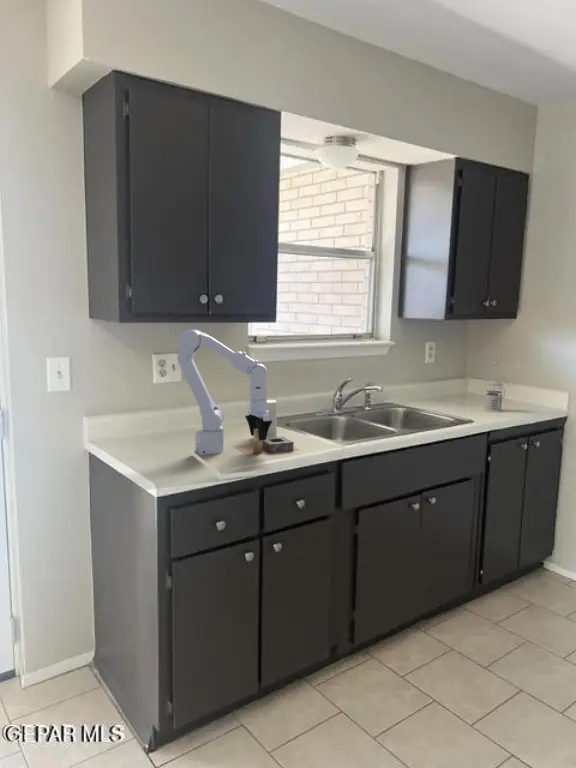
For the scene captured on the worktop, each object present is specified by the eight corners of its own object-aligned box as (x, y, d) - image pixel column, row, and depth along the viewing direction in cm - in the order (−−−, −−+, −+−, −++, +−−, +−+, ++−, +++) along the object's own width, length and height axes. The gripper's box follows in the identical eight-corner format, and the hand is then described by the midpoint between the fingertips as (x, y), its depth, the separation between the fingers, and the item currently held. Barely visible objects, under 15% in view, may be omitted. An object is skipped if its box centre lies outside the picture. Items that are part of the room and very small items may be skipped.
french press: (478, 409, 301) (481, 360, 298) (494, 407, 307) (498, 360, 303) (493, 412, 293) (496, 362, 289) (509, 411, 298) (513, 361, 295)
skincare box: (276, 438, 230) (276, 399, 228) (276, 442, 224) (277, 402, 222) (254, 438, 230) (255, 399, 228) (254, 442, 224) (254, 402, 221)
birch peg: (255, 453, 203) (255, 430, 202) (252, 451, 206) (252, 429, 205) (263, 452, 204) (263, 430, 203) (260, 450, 207) (260, 428, 206)
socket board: (247, 458, 200) (247, 446, 200) (233, 449, 213) (233, 438, 212) (300, 453, 209) (300, 441, 208) (283, 444, 221) (283, 433, 221)
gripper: (277, 401, 198) (277, 441, 200) (261, 395, 211) (260, 432, 213) (258, 402, 195) (258, 443, 197) (242, 396, 208) (242, 434, 210)
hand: (258, 437), depth 204 cm, fingers open, 7 cm apart
